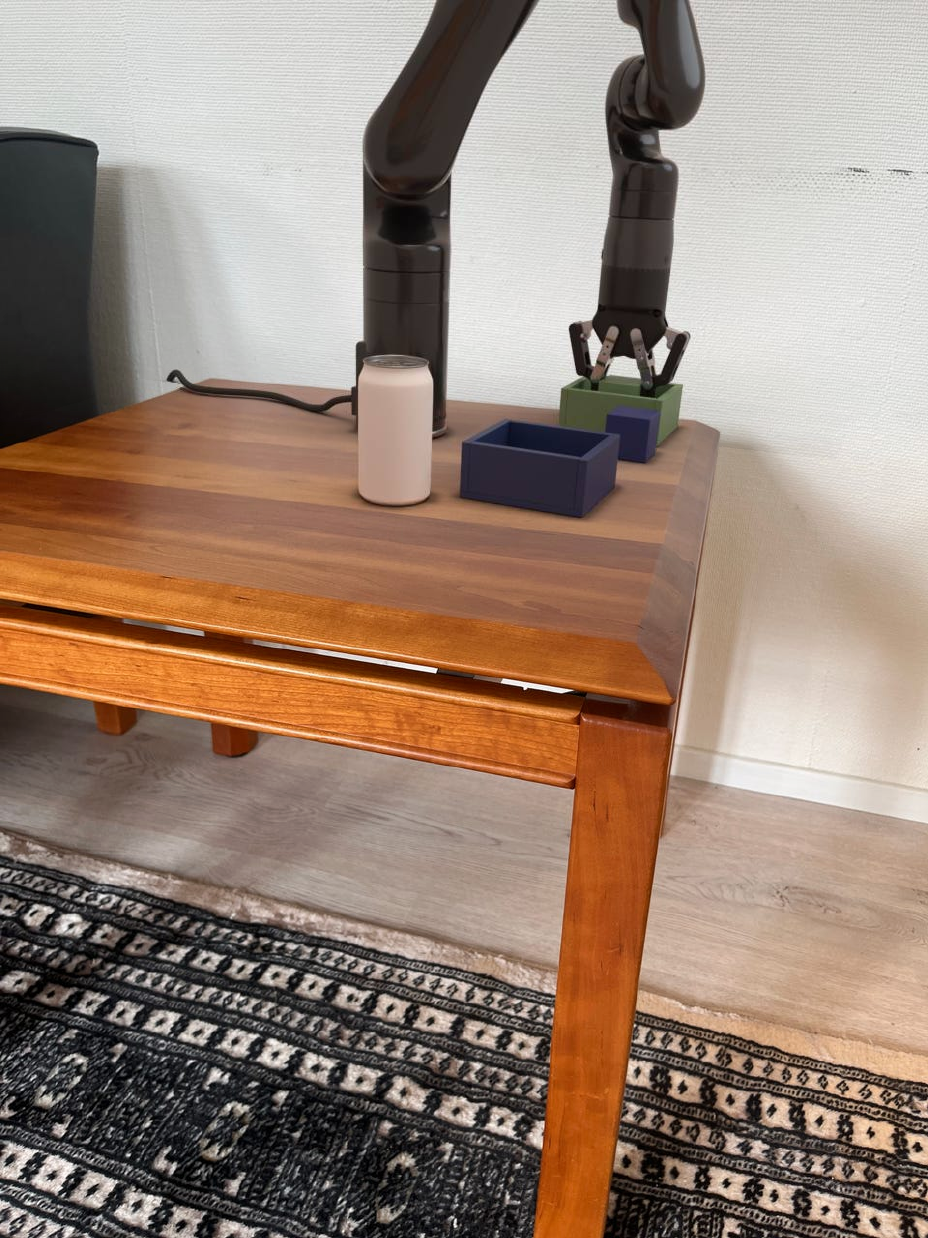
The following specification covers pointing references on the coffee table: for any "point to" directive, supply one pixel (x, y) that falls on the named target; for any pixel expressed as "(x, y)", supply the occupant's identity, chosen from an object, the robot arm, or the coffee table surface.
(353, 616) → the coffee table surface
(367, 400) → the can
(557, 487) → the navy bin
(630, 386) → the sage block
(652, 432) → the navy block
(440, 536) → the coffee table surface
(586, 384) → the sage bin
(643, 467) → the coffee table surface
